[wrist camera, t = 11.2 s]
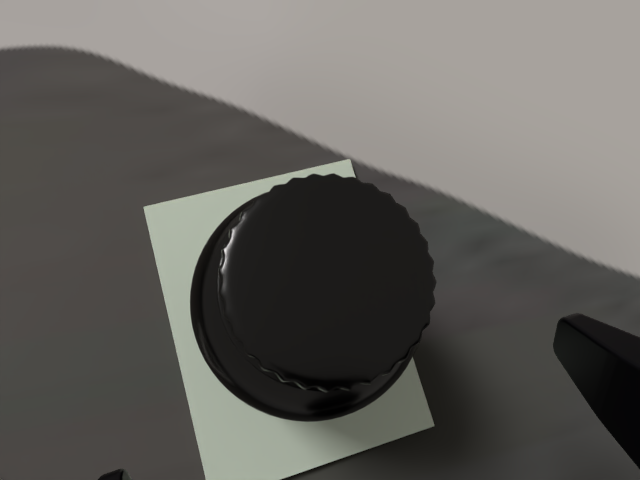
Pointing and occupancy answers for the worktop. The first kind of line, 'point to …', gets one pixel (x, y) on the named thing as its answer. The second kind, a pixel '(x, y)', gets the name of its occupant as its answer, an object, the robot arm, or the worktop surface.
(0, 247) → the worktop surface
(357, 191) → the supplement bottle
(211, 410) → the mat
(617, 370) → the robot arm
